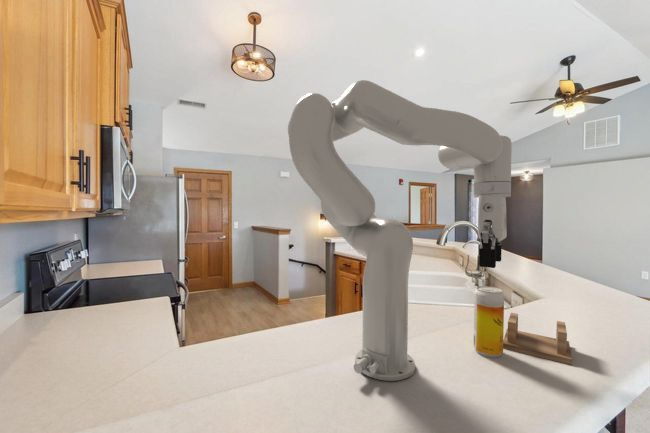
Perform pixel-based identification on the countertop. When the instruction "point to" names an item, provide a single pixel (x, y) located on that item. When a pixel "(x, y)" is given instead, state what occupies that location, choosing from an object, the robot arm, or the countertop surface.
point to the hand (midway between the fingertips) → (490, 263)
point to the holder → (538, 342)
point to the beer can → (488, 321)
